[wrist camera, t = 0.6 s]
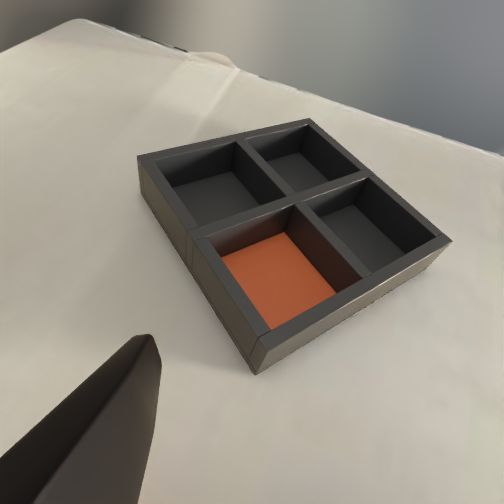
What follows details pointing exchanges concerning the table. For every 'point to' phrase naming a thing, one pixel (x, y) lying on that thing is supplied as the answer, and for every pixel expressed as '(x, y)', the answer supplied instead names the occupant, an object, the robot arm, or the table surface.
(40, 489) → the robot arm
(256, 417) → the table surface
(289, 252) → the organiser
